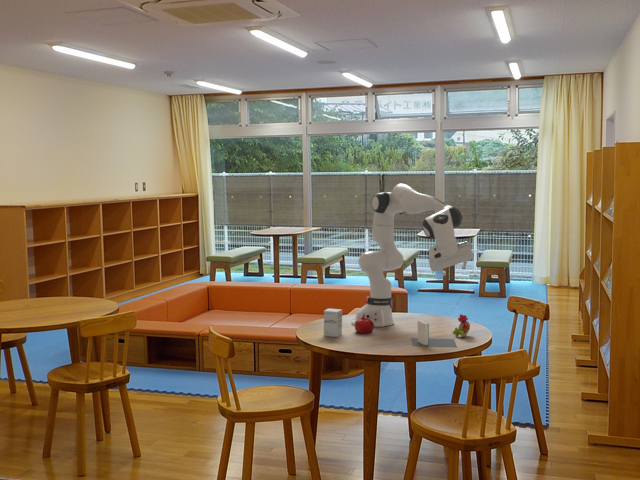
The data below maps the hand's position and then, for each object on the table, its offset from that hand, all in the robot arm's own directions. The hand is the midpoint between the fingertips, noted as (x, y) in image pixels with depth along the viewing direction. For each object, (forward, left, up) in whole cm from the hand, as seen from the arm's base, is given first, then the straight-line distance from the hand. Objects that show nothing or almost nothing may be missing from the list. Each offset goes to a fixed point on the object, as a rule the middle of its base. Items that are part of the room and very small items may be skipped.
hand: (454, 271), depth 305 cm
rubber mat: (-9, -1, -34) cm, 35 cm away
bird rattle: (+6, +16, -34) cm, 38 cm away
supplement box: (-57, +11, -34) cm, 67 cm away
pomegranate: (-42, +19, -34) cm, 57 cm away
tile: (-14, -3, -33) cm, 36 cm away
